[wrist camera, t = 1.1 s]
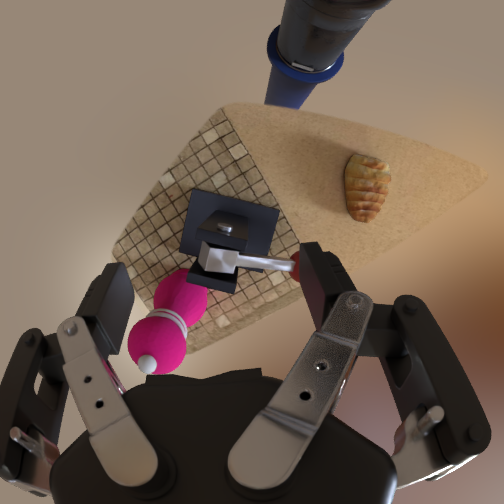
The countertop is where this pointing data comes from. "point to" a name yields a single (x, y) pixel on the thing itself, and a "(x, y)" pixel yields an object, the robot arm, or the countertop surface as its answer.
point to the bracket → (225, 233)
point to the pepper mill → (167, 324)
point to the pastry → (366, 186)
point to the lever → (244, 260)
